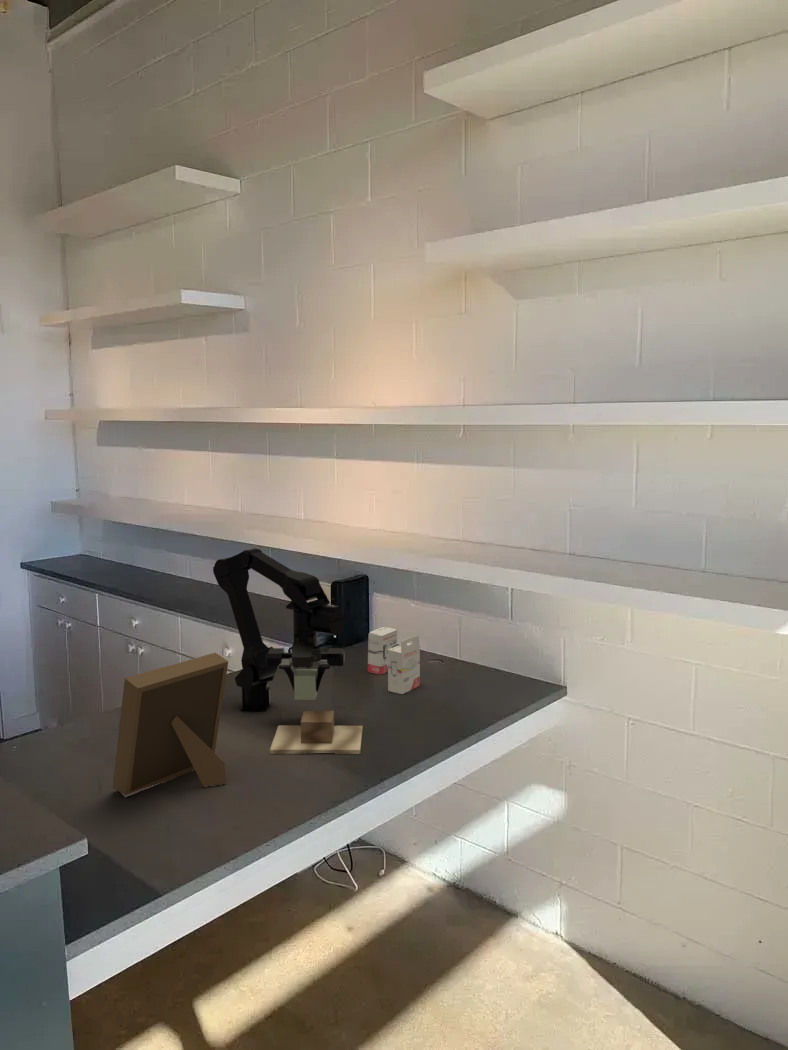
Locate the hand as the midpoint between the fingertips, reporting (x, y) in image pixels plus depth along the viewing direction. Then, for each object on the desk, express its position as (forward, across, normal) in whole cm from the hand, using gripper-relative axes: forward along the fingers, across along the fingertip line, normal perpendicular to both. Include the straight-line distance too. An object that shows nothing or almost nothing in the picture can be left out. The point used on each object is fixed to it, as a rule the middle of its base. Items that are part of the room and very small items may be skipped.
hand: (306, 691), depth 206 cm
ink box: (+8, +18, +40) cm, 45 cm away
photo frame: (+8, -22, -34) cm, 41 cm away
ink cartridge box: (+8, +24, +24) cm, 35 cm away
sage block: (+1, 0, 0) cm, 1 cm away
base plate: (+8, +4, -12) cm, 15 cm away
